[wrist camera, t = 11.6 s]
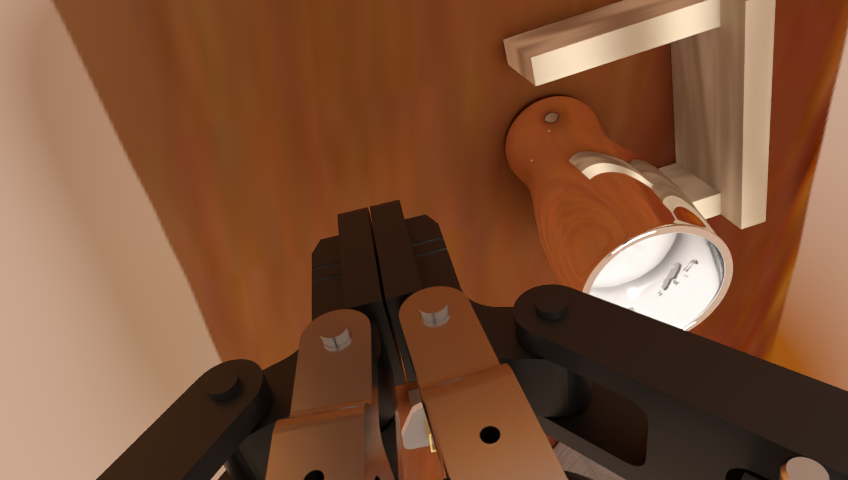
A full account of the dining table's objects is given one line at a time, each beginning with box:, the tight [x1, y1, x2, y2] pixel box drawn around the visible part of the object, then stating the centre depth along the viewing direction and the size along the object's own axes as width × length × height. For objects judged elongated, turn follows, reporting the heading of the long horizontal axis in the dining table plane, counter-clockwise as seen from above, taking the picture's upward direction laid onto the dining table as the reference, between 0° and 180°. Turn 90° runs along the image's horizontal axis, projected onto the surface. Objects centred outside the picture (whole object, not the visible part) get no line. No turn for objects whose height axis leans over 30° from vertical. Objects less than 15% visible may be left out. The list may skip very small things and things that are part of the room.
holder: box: [503, 0, 775, 229], centre depth 33 cm, size 12×13×7 cm
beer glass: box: [505, 96, 733, 331], centre depth 30 cm, size 7×7×15 cm
